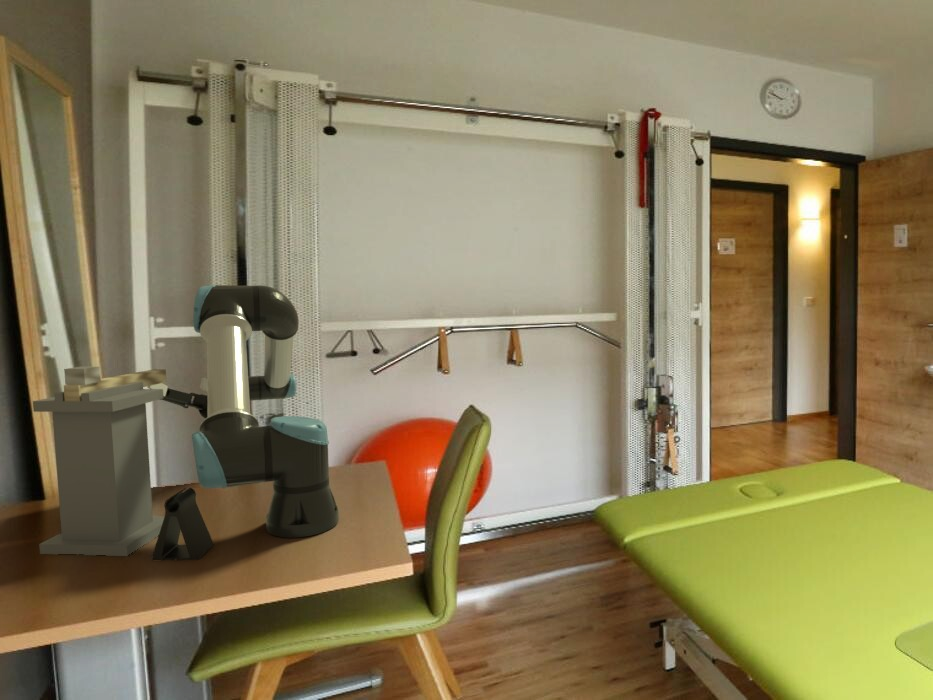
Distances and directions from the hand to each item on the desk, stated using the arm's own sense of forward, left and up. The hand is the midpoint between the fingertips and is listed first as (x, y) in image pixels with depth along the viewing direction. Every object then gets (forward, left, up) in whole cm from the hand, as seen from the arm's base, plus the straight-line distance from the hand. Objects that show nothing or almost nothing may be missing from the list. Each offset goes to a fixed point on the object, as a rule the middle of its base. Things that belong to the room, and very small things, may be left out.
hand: (176, 382), depth 135 cm
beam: (-10, +17, +1) cm, 19 cm away
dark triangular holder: (-32, +17, -29) cm, 46 cm away
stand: (-13, +21, -29) cm, 38 cm away
